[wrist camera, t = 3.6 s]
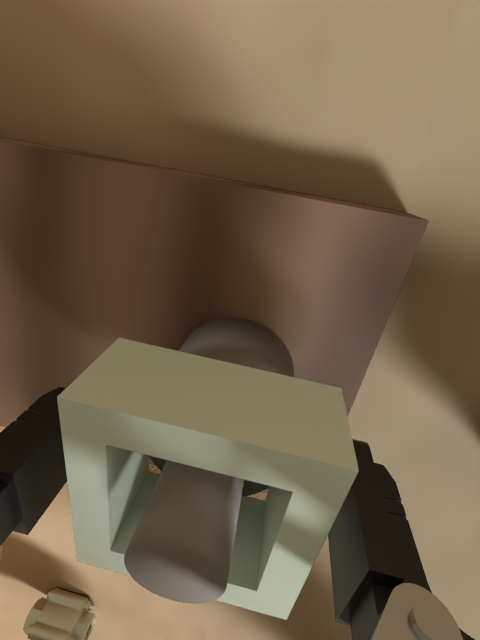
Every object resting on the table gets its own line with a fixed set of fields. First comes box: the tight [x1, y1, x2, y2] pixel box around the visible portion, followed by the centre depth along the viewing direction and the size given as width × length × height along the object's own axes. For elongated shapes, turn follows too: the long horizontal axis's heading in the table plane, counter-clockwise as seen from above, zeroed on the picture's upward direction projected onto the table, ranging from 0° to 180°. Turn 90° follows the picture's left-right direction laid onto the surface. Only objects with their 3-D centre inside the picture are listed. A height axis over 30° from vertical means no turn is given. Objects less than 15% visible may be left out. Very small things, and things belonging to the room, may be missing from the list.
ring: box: [57, 338, 359, 620], centre depth 9 cm, size 6×6×2 cm
